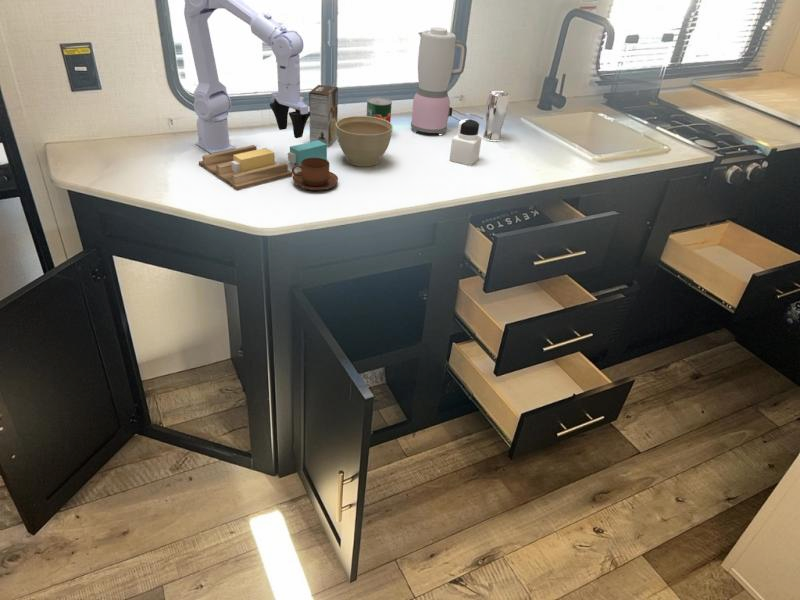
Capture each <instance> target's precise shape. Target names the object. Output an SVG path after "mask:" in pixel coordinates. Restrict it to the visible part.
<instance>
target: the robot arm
mask: <svg viewBox="0 0 800 600" xmlns="http://www.w3.org/2000/svg"><path fill="white" fill-rule="evenodd" d="M218 9H224V10H226V11H227V12H229V13H231V14H232V15H233V16H235V17H236V18H237V19H238V18H239V19H240V20H241V21H243V22H244V23H246V24H247V25H249V26H250V27H249V28H250V31H251V33H252V34H253V35H254V36H256V37H257V38H258V39H260V40H261V41H262V42H264V43H265V44H267V45H268V46H269V47H270V48H271V51H272V53H273V54H274V57H275V63H276V68H277V73H276V74H277V91H276V92H271V93H270V94H271V100H272V101H273V102H270V103H269V107H270V109H271V111H272V113H273V115H274V117H275V121H276V124H277V126H278V130H279V131H282V130H283V131H284V130H287V128H288V115H289V118H290V119H291V120H290V121H291V124H292V130H293V137H294V138H295V139H300V138H303V134H304V131H305V127H306V124H307V122H308V121H309V120H308V119H310V118H309V116H310V112H309V106H308V105H307V104H306V103H305V102H304V97H303V96H301V73H300V71H301V69H300V54H301V53H302V52H303V50H304V40H303V38H302V36H301V35H300V34H299V33H298V32H297V31H296V30H288V29H287V27H286V26H284V25H283V26H282V25H281V24H279V23H278V22H277V21H276V20H274V19H273V18H272V17H273V16H272V15H271V14H270V13H265V12H261V13H257V12H256V11H255V10H254V9H252V8H251V7H250V6H249V5H248V4H247V3H245V2H244V1H243V0H184V10H183V15H184V21H185V24H186V30H187V33H188V39H189V43H190V48H191V53H192V58H193V63H194V67H195V72H196V77H197V81H198V84H197V86H196V88H195V90H194V92H193V96H194V97H193V98H194V100H193V109H194V112H195V114H196V116H197V119H196V128H197V129H196V130H197V138H198V139H197V142H195V145H197V146H199V148H202V149H203V150H205V151H206V152H208V153H209V154H214V153H218V152H223V151H228V150H232V149H237V148H236V146H234V145H233V144H231V143H230V137H229V136H230V135H229V124H228V116H229V112H230V111H231V110H232V105H233V104H232V100H231V97H230V95H229V93H228V92H227V87H226V86H225V84H223V83H222V82H221V81H220V79H219V74H218V69H217V64H216V58H215V55H214V48H213V43H212V38H211V32H210V29H209V23H208V20H209V18H210V17H211V16H212V14H213V13H214V12H215V11H216V10H218ZM290 109H293V110H294V111H290V112H289V110H290Z"/></svg>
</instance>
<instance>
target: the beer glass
mask: <svg viewBox="0 0 800 600" xmlns="http://www.w3.org/2000/svg"><path fill="white" fill-rule="evenodd" d="M509 101H510V93H508V92H507V91H503V90H496V89H495V90H489V92H488V97H487V101H486V107H485V129H484V133H483V135H482V138H483V137H484V138H486V139H489V140H500V139H501V140H502V129H503V125H504V122H505V118H506V116H507V112H508V107H509ZM484 138H483V139H484ZM501 140H500V141H501Z"/></svg>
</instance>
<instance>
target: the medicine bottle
mask: <svg viewBox="0 0 800 600" xmlns="http://www.w3.org/2000/svg"><path fill="white" fill-rule="evenodd" d="M457 128H458V129H457V134H456V135H455V136H453V137H452V139H451V145H450V153H449V161H450V162H453V161H454V163H457V162H458V164H461V163H462V165H465V164H467V165H466V166H469V165H471V166H473V164H474V163H475V162H477V160H479V157H480V150H481V144H482V138H483V136H481V135H479V130H480V129H479V128H480V123H479V122H478V121H477V120H474V119H470V118H469V119H468V118H465V119H461V120H460V121H459V122H458V127H457Z"/></svg>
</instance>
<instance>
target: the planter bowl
mask: <svg viewBox="0 0 800 600" xmlns="http://www.w3.org/2000/svg"><path fill="white" fill-rule="evenodd" d="M336 129H337V141H338V145H339V146H340V149H341V151H342V152H343V155H345V157H346V160H347V162H348V163H349V164H351V165H354V166H357V167H372V166H376V165H378V164H379V163H380V161H381V158H382V157H383V155H384V154H386V151H387V150H388V147H389V145H390V143H391V138H392V132H393V124H392V123H391V121H390V122H388V121H386V120H383V119H380V118H376V117H368V116H367V115H355V116H353V115H352V116H346V117H343V118H340V119H337V123H336Z"/></svg>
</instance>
